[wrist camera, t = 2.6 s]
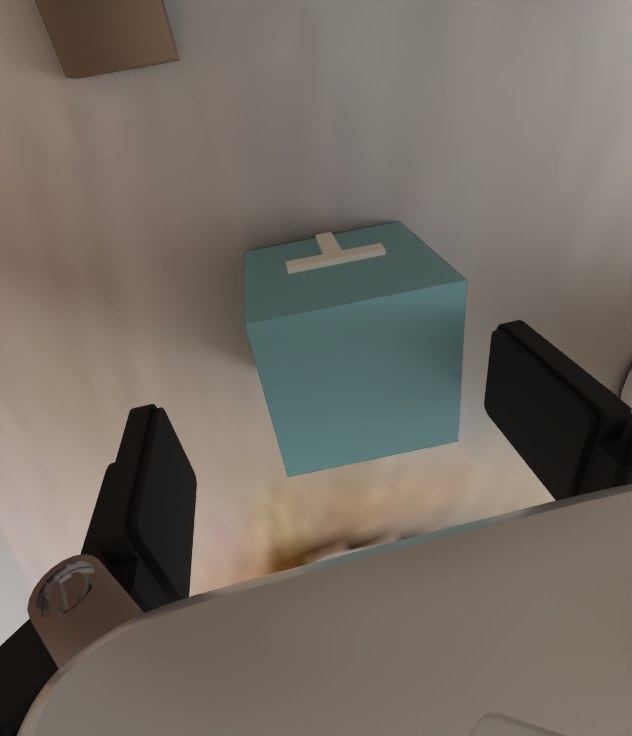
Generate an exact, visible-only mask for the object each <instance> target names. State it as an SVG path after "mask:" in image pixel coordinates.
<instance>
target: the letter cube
mask: <svg viewBox="0 0 632 736" xmlns="http://www.w3.org/2000/svg"><path fill="white" fill-rule="evenodd" d="M315 236H316V238H311V239H306V240H301V241H296V242H291V243H286V244H281V245H276V246H271V247H266V248H261V249H255V250H250V251H245V328H246V331H247V335H248V338H249V342H250V345H251V349H252V352H253V356H254V359H255V363H256V366H257V370H258V374H259V377H260V381H261V384H262V388H263V391H264V395H265V398H266V402H267V405H268V409H269V412H270V416H271V419H272V423H273V426H274V430H275V434H276V437H277V441H278V444H279V448H280V451H281V455H282V458H283V462H284V465H285V469H286V472H287V476H288V477H292V476H296V475H301V474H306V473H310V472H315V471H320V470H325V469H329V468H334V467H339V466H343V465H348V464H353V463H358V462H362V461H367V460H372V459H376V458H381V457H386V456H391V455H395V454H400V453H405V452H410V451H414V450H419V449H424V448H428V447H433V446H438V445H443V444H447V443H452V442H457V441H458V433H459V414H460V396H461V377H462V359H463V340H464V322H465V303H466V285H467V280H466V279H465V278H464V277H463V276H462V275H460V274H459V273H458V272H457V271H456V270H455V269H454V268H452V267H451V266H450V265H449V264H448V263H447V262H446V261H444V260H443V259H442V258H441V257H440V256H439V255H438V254H436V253H435V252H434V251H433V250H432V249H431V248H430V247H428V246H427V245H426V244H425V243H424V242H423V241H422V240H420V239H419V238H418V237H417V236H416V235H415V234H414V233H412V232H411V231H410V230H409V229H408V228H407V227H406V226H404V225H403V224H402V223H401V222H400V221H398V222H393V223H388V224H382V225H377V226H372V227H367V228H362V229H357V230H352V231H347V232H342V233H337V234H332V232H327V233H322V234H317V235H315Z"/></svg>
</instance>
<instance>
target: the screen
mask: <svg viewBox="0 0 632 736" xmlns="http://www.w3.org/2000/svg"><path fill="white" fill-rule="evenodd" d="M35 1H36V4H37V6H38V9H39V11H40V14H41V16H42V19H43V21H44V24H45V26H46V28H47V31H48V33H49V36H50V38H51V41H52V43H53V46H54V48H55V51H56V53H57V56H58V58H59V61H60V63H61V66H62V68H63V71H64V73H65V76H66V78H76V79H79V78H85V77H90V76H95V75H101V74H106V73H112V72H117V71H123V70H128V69H134V68H139V67H145V66H150V65H155V64H161V63H166V62H172V61H177V60H179V58H178V54H177V51H176V47H175V43H174V40H173V36H172V32H171V29H170V25H169V21H168V18H167V14H166V10H165V7H164V3H163V0H35Z"/></svg>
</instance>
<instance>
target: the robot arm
mask: <svg viewBox="0 0 632 736" xmlns="http://www.w3.org/2000/svg"><path fill="white" fill-rule="evenodd" d="M484 405H485V410H486V412H487V414H488V415H489V417H490V418H491V419H492V421H493V422H494V423H495V424H496V426H497V427H498V428H499V429H500V431H501V432H502V433H503V434H504V436H505V437H506V438H507V439H508V441H509V442H510V443H511V445H512V446H513V447H514V448H515V450H516V451H517V452H518V453H519V455H520V456H521V457H522V458H523V460H524V461H525V462H526V463H527V465H528V466H529V467H530V468H531V470H532V471H533V472H534V474H535V475H536V476H537V477H538V479H539V480H540V481H541V482H542V484H543V485H544V486H545V487H546V489H547V490H548V491H549V492H550V494H551V495H552V496H553V497H554V499H555V500H556V501H553V502H549V503H545V504H541V505H537V506H533V507H529V508H525V509H521V510H518V511H514V512H510V513H506V514H502V515H498V516H494V517H490V518H486V519H482V520H478V521H474V522H470V523H466V524H462V525H458V526H454V527H450V528H446V529H442V530H439V531H435V532H431V533H427V534H423V535H419V536H415V537H411V538H407V539H404V540H400V541H396V542H392V543H388V544H384V545H380V546H376V547H373V548H369V549H365V550H361V551H357V552H353V553H349V554H346V555H342V556H338V557H334V558H331V559H327V560H323V561H319V562H315V563H311V564H308V565H304V566H300V567H296V568H292V569H289V570H285V571H281V572H277V573H273V574H270V575H266V576H262V577H258V578H255V579H251V580H247V581H244V582H240V583H237V584H233V585H230V586H226V587H223V588H219V589H215V590H212V591H208V592H205V593H201V594H198V595H194V596H191V597H189V589H190V575H191V561H192V546H193V532H194V517H195V503H196V488H197V482H196V476H195V473H194V471H193V469H192V466H191V464H190V462H189V460H188V458H187V456H186V454H185V452H184V450H183V448H182V445H181V443H180V441H179V439H178V437H177V435H176V433H175V431H174V429H173V427H172V424H171V422H170V420H169V418H168V416H167V414H166V412H165V410H164V409H163V408H162V407H161V408H157V407H156V406H155V405H154V404H150V405H146V406H141V407H137V408H133V409H131V410H130V413H129V416H128V420H127V423H126V427H125V430H124V434H123V437H122V441H121V444H120V448H119V451H118V454H117V458H116V461H115V462H114V463H111V464H110V465H109V466H108V468H107V470H106V473H105V476H104V479H103V482H102V486H101V489H100V492H99V496H98V499H97V502H96V505H95V509H94V512H93V515H92V518H91V522H90V525H89V528H88V532H87V535H86V538H85V541H84V545H83V548H82V551H81V555H76V556H73V557H70V558H68V559H66V560H63V561H62V562H60V563H59V564H57V565H56V566H54V567H53V568H51V569H50V570H49V571H48V572H47V573H46V574H45V575H44V576H43V577H42V578H41V580H40V581H39V582H38V584H37V585H36V586H35V588H34V590H33V592H32V594H31V596H30V598H29V603H28V609H27V610H28V614H29V618H30V619H29V620H28V621H27V622H26V623H24V624H23V625H22V626H21V627H20V628H19V629H18V630H17V631H16V632H15V633H14V634H13V635H12V636H11V637H10V638H9V639H7V640H6V641H5V642H4V643H3V644H2V645H1V646H0V736H632V368H631V370H630V372H629V374H628V376H627V379H626V382H625V384H624V387H623V389H622V392H621V398H618V397H617V396H616V395H615V394H613V393H612V392H611V391H610V390H608V389H607V388H606V387H605V386H603V385H602V384H601V383H600V382H598V381H597V380H596V379H595V378H593V377H592V376H591V375H590V374H588V373H587V372H586V371H585V370H583V369H582V368H581V367H580V366H578V365H577V364H576V363H575V362H573V361H572V360H571V359H570V358H568V357H567V356H566V355H565V354H563V353H562V352H561V351H560V350H558V349H557V348H556V347H555V346H553V345H552V344H551V343H550V342H548V341H547V340H546V339H545V338H543V337H542V336H541V335H540V334H538V333H537V332H536V331H535V330H533V329H532V328H531V327H530V326H528V325H527V324H526V323H525V322H523V321H521V320H517V321H513V322H508V323H504V324H500V325H499V326H498V327H497V330H496V331H494V332H493V333H492V336H491V345H490V354H489V364H488V373H487V382H486V392H485V401H484Z"/></svg>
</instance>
